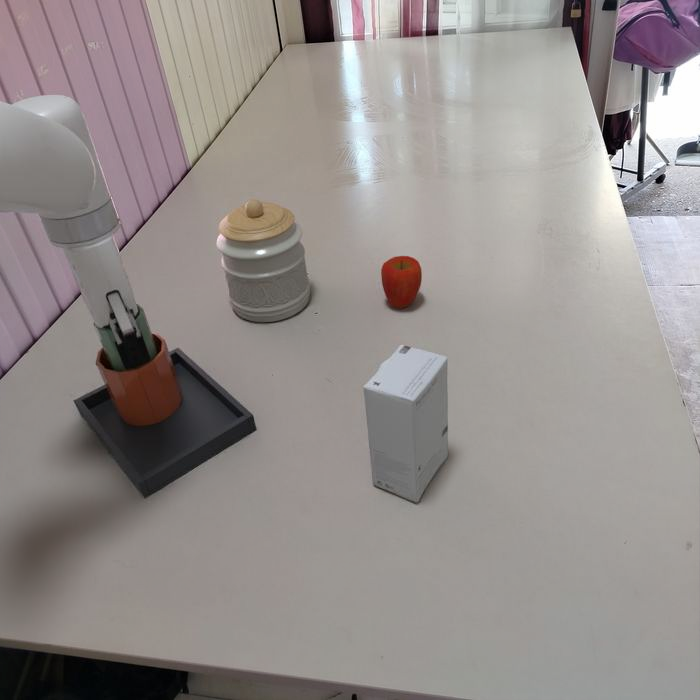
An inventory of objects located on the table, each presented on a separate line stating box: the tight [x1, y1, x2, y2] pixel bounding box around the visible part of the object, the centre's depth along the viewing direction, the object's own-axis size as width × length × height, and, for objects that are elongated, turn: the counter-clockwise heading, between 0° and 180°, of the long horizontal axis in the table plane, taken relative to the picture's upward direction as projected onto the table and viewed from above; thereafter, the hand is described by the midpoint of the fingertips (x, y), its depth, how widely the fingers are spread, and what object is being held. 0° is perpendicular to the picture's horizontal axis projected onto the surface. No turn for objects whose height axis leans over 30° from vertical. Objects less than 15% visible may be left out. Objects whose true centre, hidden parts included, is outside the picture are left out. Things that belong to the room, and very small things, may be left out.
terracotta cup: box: [95, 331, 182, 426], centre depth 82 cm, size 8×8×9 cm
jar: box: [216, 198, 311, 323], centre depth 98 cm, size 13×13×18 cm
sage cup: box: [93, 303, 159, 372], centre depth 79 cm, size 6×6×8 cm
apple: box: [380, 255, 423, 309], centre depth 97 cm, size 6×6×8 cm
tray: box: [73, 347, 257, 499], centre depth 82 cm, size 16×20×3 cm
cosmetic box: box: [363, 344, 449, 504], centre depth 68 cm, size 8×6×15 cm
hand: (130, 349), depth 79 cm, fingers closed on sage cup, 5 cm apart
